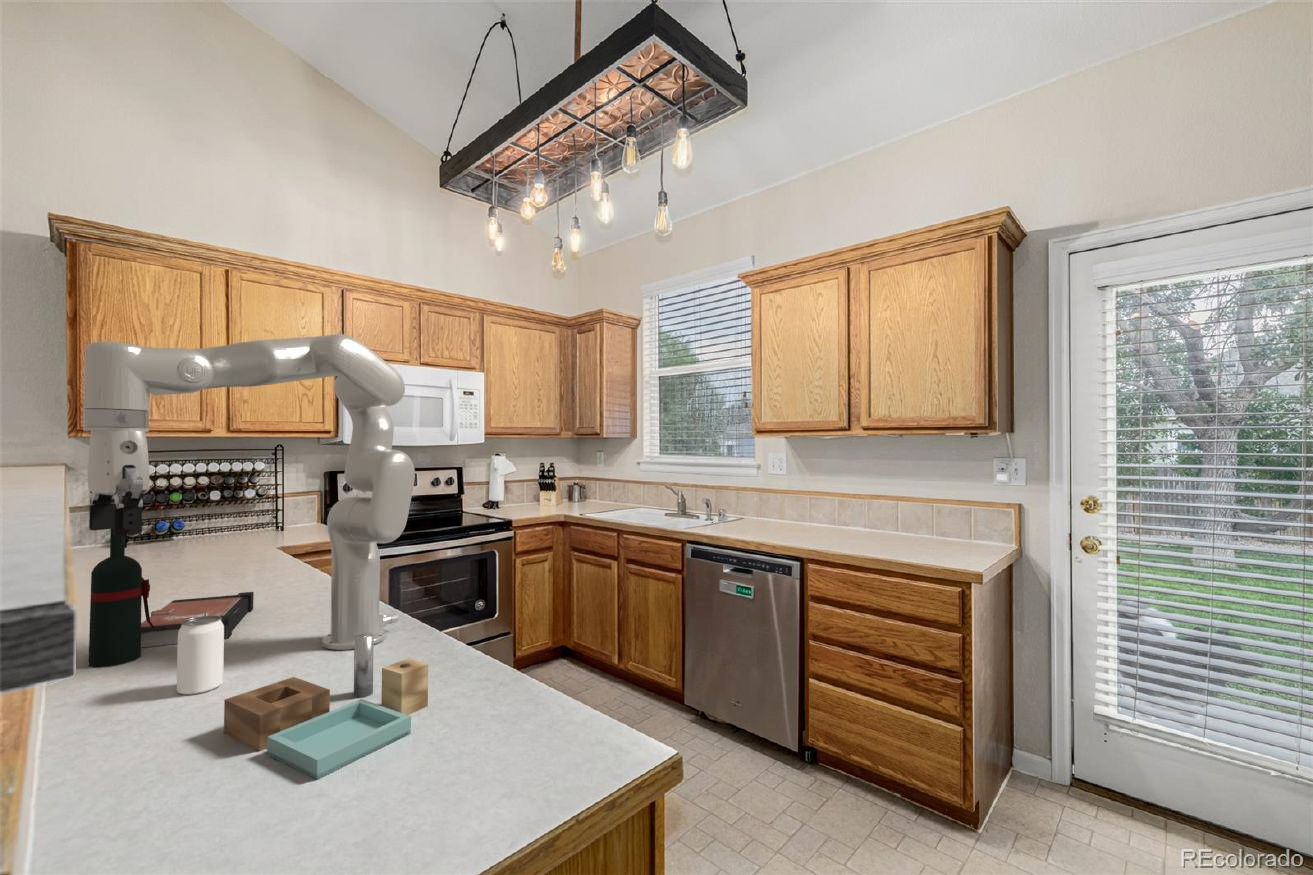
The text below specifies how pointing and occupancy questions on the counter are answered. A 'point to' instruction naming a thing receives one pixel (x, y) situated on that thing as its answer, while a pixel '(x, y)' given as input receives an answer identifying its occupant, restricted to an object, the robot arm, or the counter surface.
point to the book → (181, 610)
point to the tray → (338, 737)
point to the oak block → (405, 686)
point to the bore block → (273, 710)
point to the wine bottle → (116, 608)
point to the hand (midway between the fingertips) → (115, 531)
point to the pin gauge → (363, 665)
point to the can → (200, 655)
